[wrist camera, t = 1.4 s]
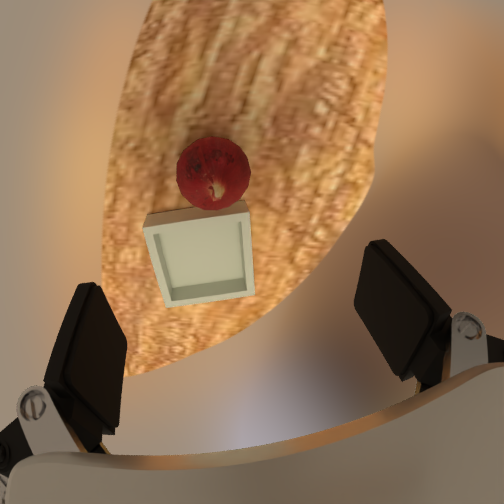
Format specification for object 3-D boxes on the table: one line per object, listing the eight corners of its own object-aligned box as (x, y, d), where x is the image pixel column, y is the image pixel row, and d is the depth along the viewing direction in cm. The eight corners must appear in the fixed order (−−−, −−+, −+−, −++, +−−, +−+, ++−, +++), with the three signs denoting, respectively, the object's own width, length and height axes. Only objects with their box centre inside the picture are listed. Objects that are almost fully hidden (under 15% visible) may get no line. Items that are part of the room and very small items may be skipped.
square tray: (146, 214, 26) (142, 227, 24) (244, 200, 27) (249, 212, 25) (167, 291, 31) (166, 307, 29) (250, 279, 32) (255, 294, 30)
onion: (166, 158, 23) (153, 186, 17) (217, 118, 22) (225, 128, 16) (205, 203, 26) (209, 246, 20) (254, 167, 25) (277, 197, 19)
